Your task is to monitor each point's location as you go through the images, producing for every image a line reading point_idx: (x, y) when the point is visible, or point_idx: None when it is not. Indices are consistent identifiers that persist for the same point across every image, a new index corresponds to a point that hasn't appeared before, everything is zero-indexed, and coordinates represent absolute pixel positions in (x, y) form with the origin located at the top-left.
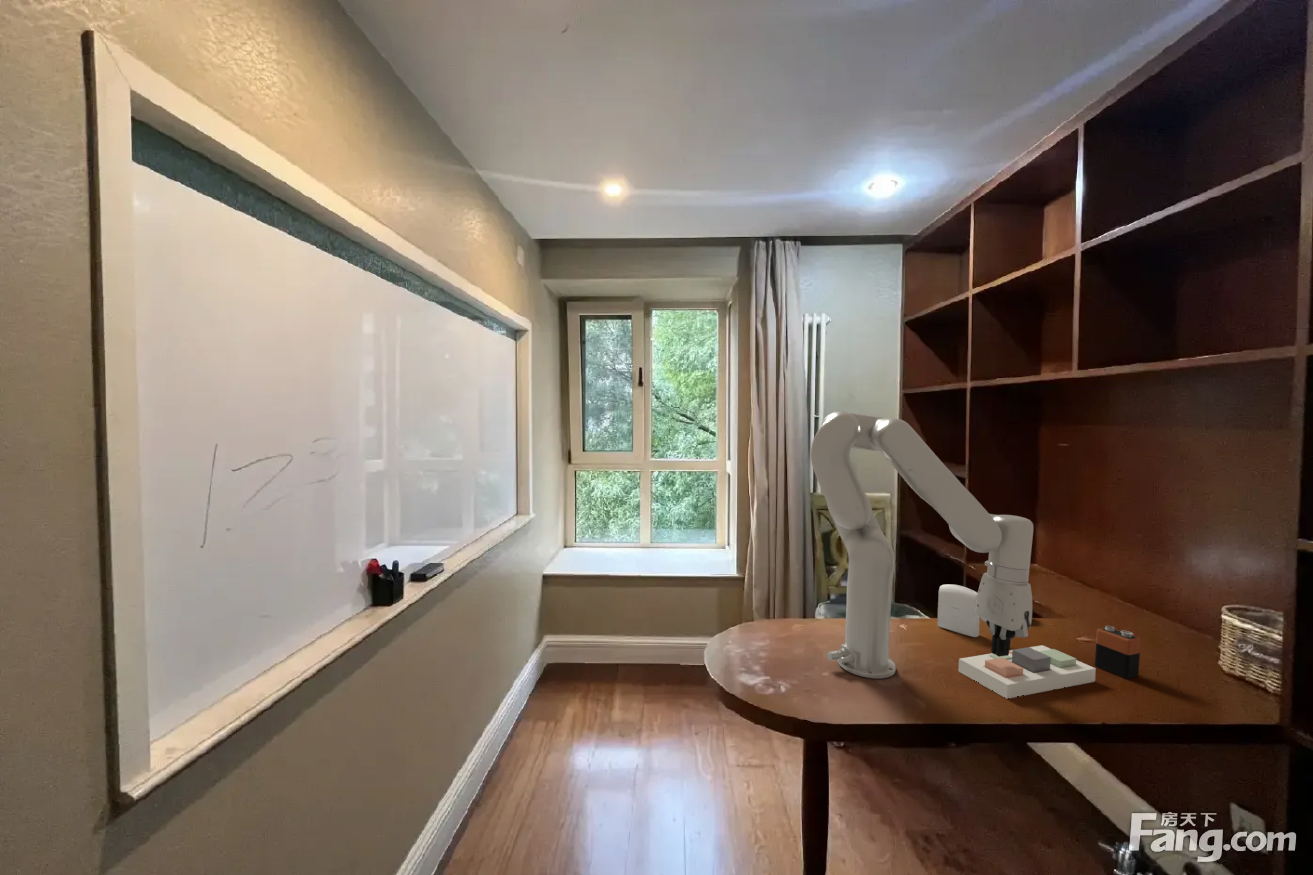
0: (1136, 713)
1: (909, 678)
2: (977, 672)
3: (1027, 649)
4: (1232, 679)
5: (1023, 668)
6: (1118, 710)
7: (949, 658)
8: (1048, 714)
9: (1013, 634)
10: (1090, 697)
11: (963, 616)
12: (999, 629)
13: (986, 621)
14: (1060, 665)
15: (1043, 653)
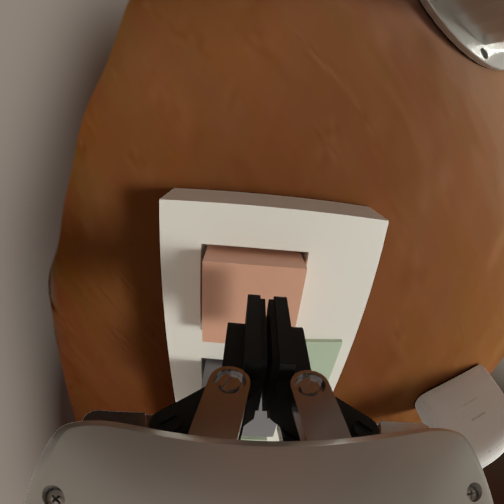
0: (84, 385)
1: (392, 16)
2: (300, 206)
3: (264, 427)
4: None
5: None
6: (92, 374)
7: (423, 260)
8: (85, 226)
9: (151, 418)
10: (138, 383)
11: (456, 414)
12: (293, 428)
13: (378, 429)
14: None
15: (253, 440)
